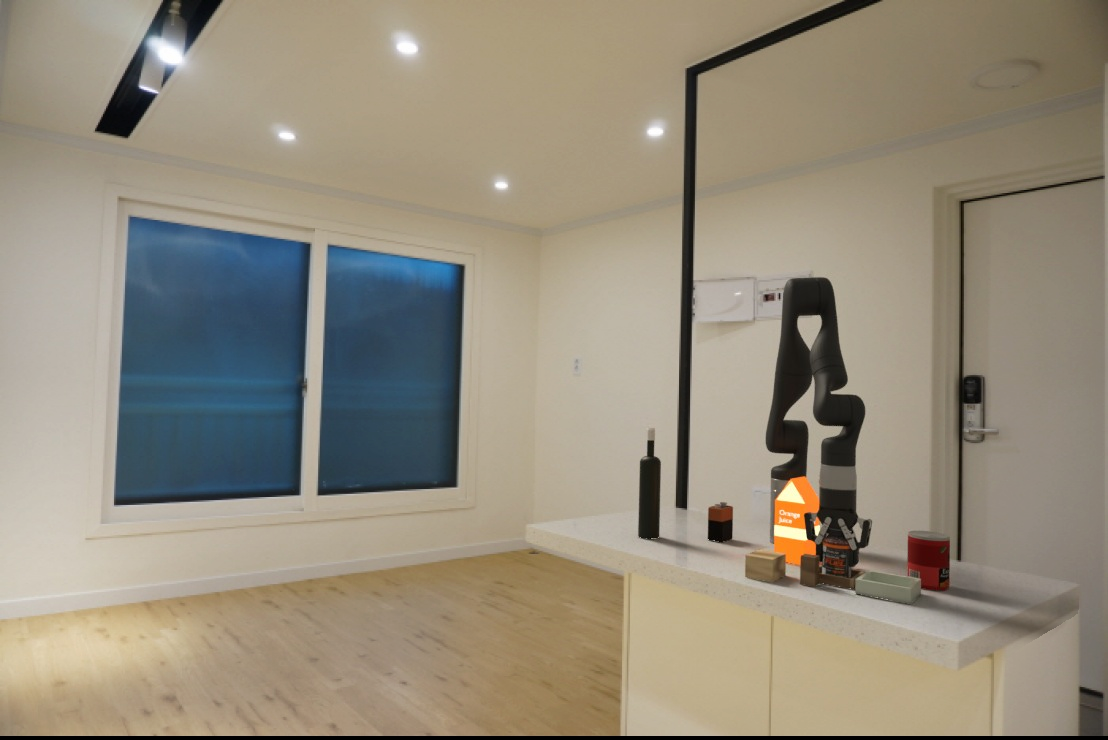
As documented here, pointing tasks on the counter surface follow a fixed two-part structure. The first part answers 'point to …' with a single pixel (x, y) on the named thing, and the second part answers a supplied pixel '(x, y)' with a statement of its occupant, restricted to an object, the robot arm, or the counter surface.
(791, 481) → the orange juice
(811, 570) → the post
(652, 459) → the wine bottle
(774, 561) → the natural wood cube
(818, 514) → the robot arm
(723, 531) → the battery
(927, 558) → the canned food
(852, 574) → the frame
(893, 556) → the counter surface
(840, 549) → the supplement bottle
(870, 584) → the tray
